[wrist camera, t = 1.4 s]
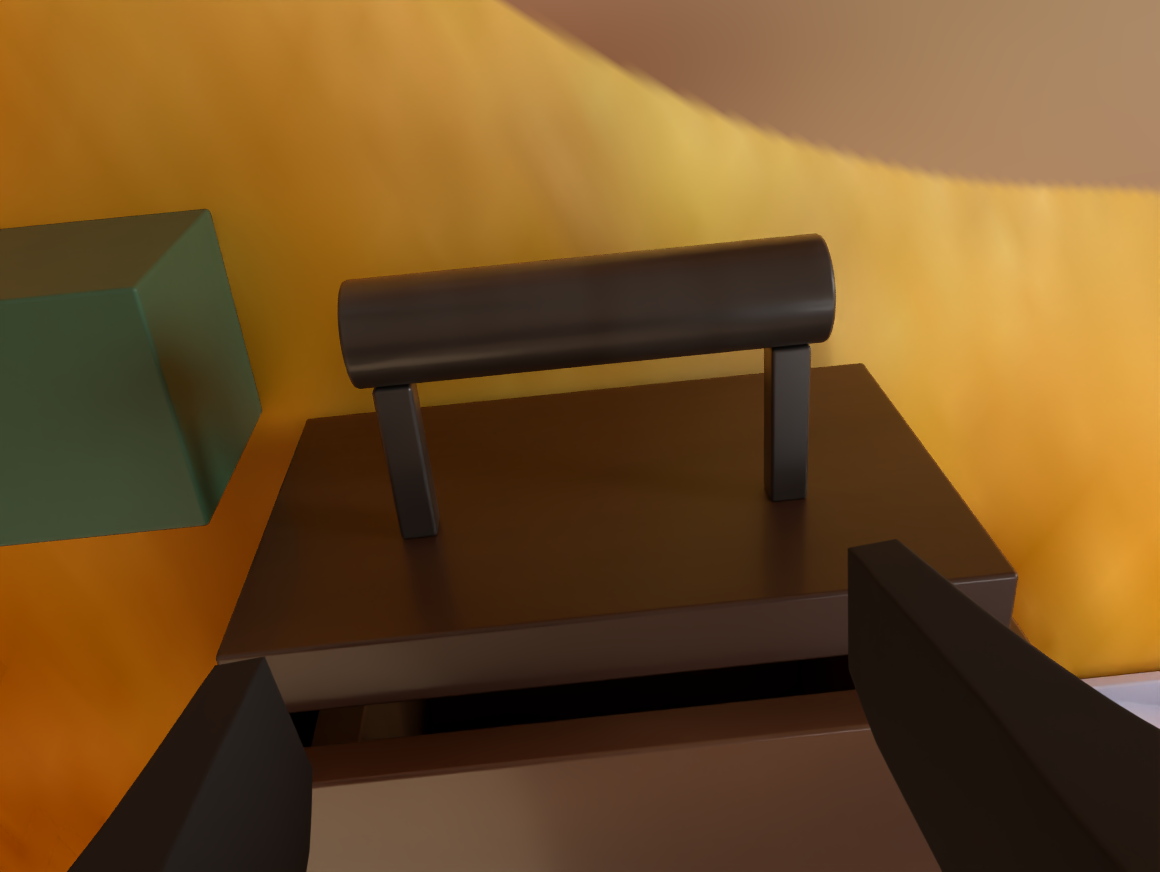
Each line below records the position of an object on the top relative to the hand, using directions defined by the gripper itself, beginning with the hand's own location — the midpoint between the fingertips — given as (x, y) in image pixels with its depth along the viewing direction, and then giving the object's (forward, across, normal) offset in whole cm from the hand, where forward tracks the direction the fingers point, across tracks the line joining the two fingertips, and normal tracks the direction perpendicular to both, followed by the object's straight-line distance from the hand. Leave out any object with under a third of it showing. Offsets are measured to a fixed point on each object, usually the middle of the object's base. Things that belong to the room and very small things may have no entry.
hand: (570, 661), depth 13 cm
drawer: (+9, -1, +6) cm, 10 cm away
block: (+10, +8, -1) cm, 13 cm away
